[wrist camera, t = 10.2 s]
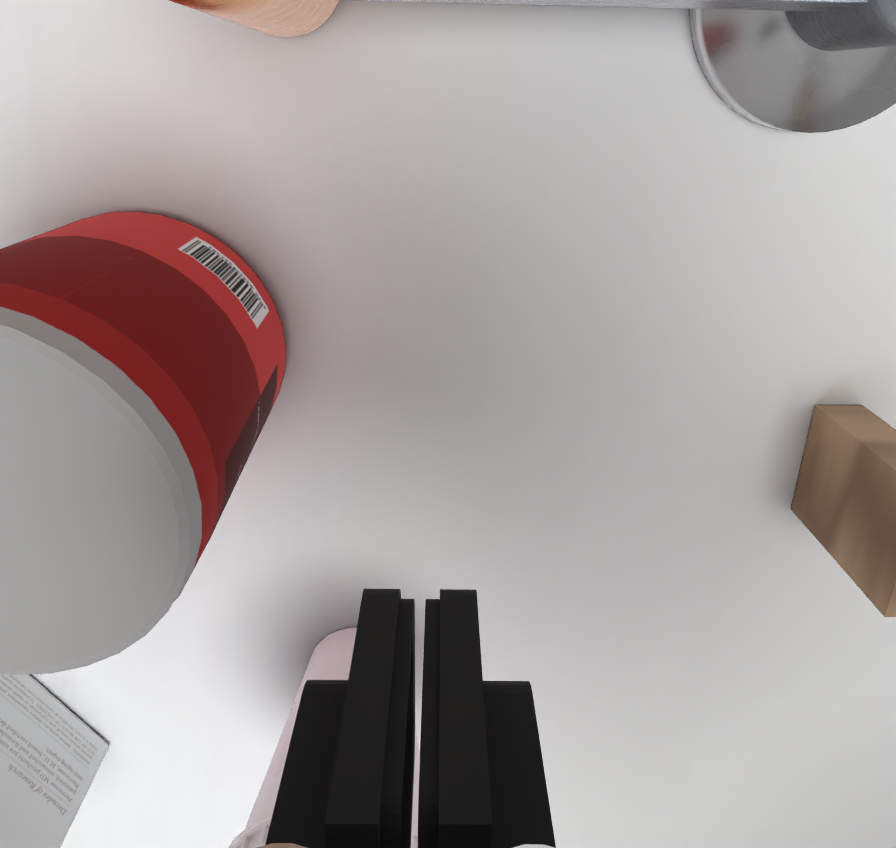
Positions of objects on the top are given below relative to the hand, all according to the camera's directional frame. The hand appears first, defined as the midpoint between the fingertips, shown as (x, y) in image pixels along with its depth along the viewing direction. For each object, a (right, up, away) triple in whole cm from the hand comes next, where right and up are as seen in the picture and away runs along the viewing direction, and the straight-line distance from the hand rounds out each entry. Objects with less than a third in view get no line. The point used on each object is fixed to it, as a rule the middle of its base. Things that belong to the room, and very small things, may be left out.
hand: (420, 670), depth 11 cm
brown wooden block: (+13, +2, +15) cm, 20 cm away
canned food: (-8, +7, +13) cm, 16 cm away
